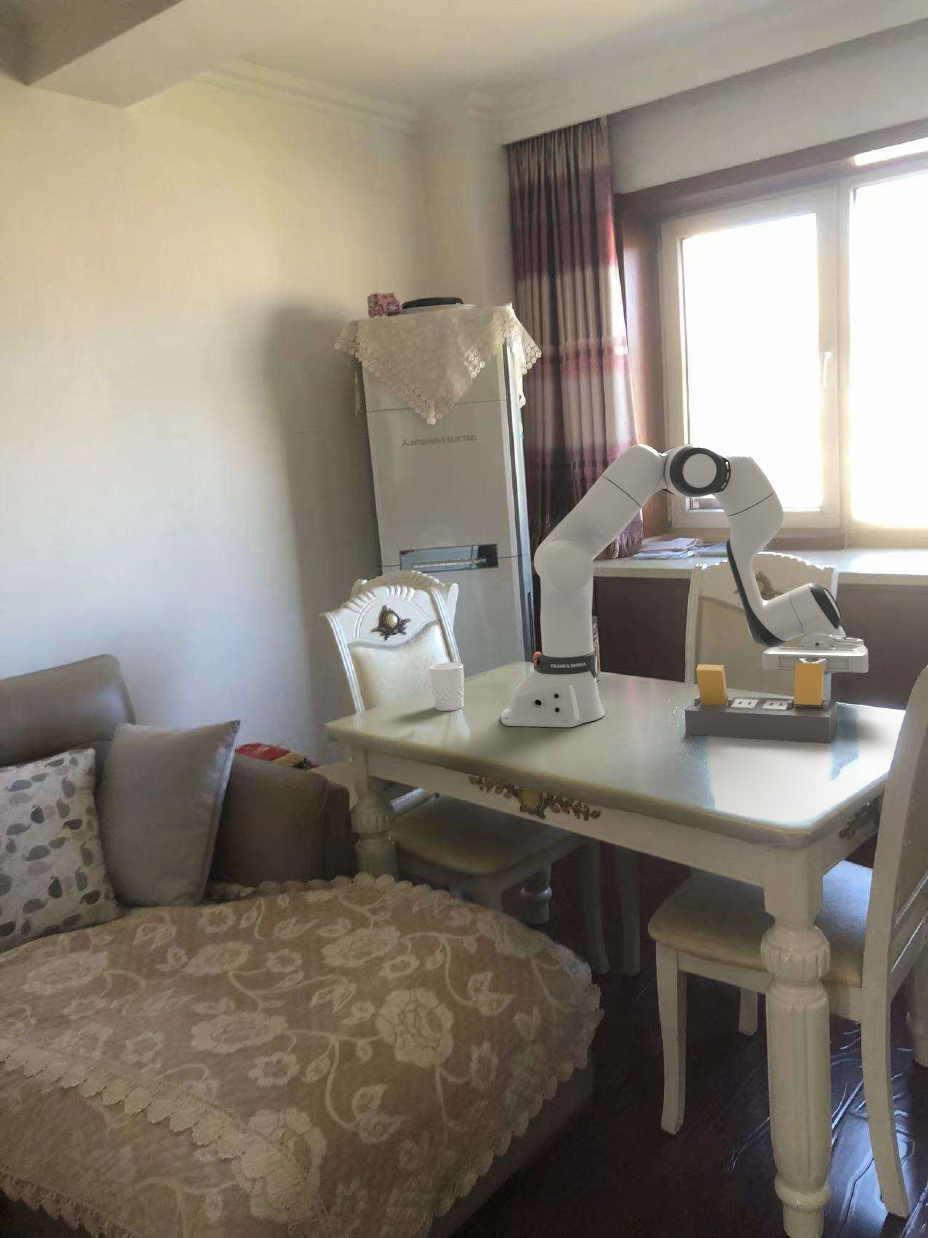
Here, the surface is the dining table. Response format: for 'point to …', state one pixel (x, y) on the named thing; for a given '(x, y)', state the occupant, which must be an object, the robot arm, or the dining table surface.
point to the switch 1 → (712, 684)
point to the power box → (762, 719)
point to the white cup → (447, 685)
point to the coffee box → (596, 644)
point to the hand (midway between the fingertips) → (810, 668)
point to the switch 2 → (808, 684)
